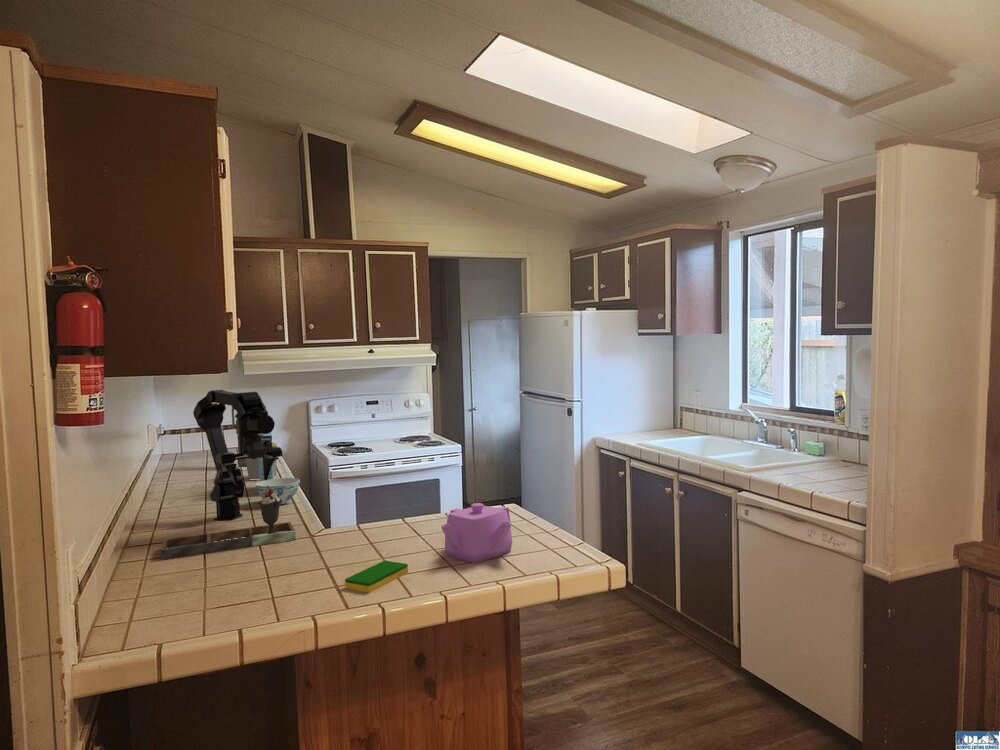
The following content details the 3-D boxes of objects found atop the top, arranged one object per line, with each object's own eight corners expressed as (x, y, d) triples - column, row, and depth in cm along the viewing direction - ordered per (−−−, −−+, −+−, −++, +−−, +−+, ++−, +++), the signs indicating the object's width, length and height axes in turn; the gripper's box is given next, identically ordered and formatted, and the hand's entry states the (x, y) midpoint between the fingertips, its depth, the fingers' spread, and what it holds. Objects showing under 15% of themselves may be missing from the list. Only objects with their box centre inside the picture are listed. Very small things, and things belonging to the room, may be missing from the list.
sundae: (265, 541, 175) (262, 487, 175) (255, 537, 180) (252, 484, 180) (288, 536, 180) (285, 483, 180) (277, 532, 185) (274, 481, 184)
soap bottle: (251, 476, 282) (248, 429, 282) (281, 474, 284) (279, 427, 283) (242, 482, 269) (240, 432, 269) (274, 480, 271) (271, 431, 270)
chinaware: (284, 497, 236) (283, 476, 236) (309, 501, 227) (308, 479, 227) (247, 505, 224) (246, 483, 223) (273, 510, 215) (272, 487, 215)
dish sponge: (409, 573, 147) (408, 563, 147) (369, 594, 135) (369, 583, 135) (384, 570, 150) (384, 559, 150) (344, 590, 138) (343, 579, 138)
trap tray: (161, 559, 164) (160, 550, 164) (164, 548, 174) (164, 539, 174) (295, 540, 177) (295, 531, 177) (290, 530, 188) (290, 522, 188)
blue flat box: (261, 487, 257) (258, 431, 256) (274, 485, 259) (271, 430, 258) (260, 496, 239) (257, 436, 238) (274, 495, 240) (271, 434, 240)
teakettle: (511, 541, 168) (509, 495, 168) (513, 562, 151) (511, 510, 151) (447, 544, 168) (445, 498, 168) (442, 565, 151) (440, 513, 151)
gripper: (226, 437, 184) (229, 491, 184) (288, 430, 196) (291, 481, 197) (213, 435, 192) (216, 486, 192) (274, 428, 204) (276, 476, 205)
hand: (251, 482), depth 196 cm, fingers open, 9 cm apart
